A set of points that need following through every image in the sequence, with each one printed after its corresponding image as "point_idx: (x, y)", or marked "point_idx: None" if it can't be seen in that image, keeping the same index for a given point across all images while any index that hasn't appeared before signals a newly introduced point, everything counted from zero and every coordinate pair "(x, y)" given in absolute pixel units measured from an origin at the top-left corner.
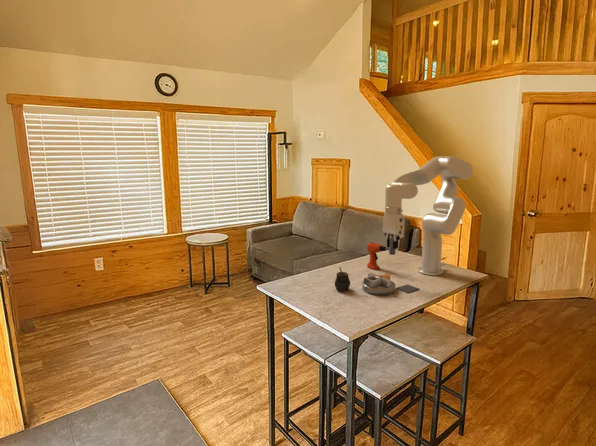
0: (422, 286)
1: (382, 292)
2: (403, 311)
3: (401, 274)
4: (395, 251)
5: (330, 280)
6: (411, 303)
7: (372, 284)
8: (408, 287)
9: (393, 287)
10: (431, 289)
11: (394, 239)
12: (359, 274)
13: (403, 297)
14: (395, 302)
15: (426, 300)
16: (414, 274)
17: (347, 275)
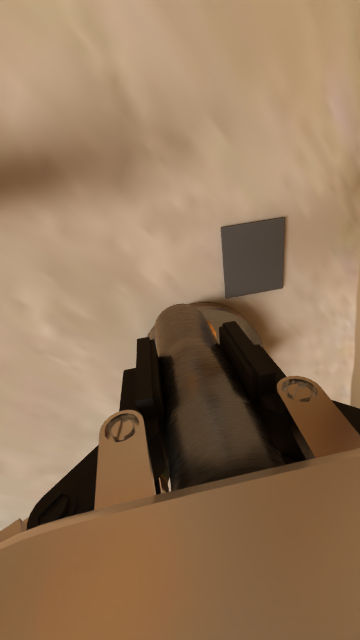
0: (267, 172)
1: None
2: (351, 378)
3: (78, 132)
4: (207, 323)
5: (53, 449)
6: (337, 330)
7: None
8: (249, 250)
9: (261, 343)
10: (313, 162)
11: (286, 456)
12: (14, 336)
13: (294, 323)
14: (303, 365)
15: (357, 271)
16: (107, 42)
17: (166, 488)
